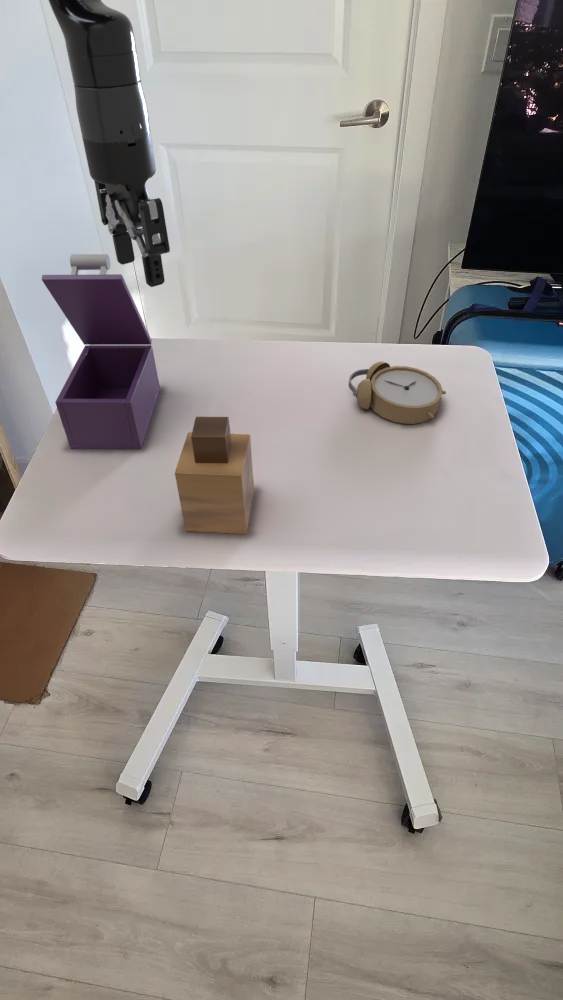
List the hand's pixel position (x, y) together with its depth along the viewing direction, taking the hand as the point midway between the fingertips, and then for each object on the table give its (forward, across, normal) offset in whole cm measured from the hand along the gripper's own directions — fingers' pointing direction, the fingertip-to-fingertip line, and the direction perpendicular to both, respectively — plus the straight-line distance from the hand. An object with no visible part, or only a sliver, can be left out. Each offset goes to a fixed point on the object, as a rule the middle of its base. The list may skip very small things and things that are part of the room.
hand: (140, 273), depth 80 cm
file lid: (+9, -10, -3) cm, 14 cm away
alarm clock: (+24, +16, +32) cm, 44 cm away
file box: (+25, -7, -5) cm, 26 cm away
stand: (+25, +21, -3) cm, 32 cm away
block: (+15, +21, -3) cm, 26 cm away
